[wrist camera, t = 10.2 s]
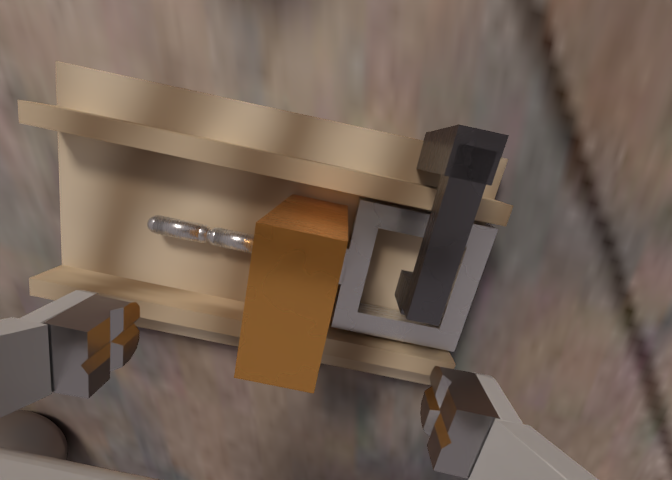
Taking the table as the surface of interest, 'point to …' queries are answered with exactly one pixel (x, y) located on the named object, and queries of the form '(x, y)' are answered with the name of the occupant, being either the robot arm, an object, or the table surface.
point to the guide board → (220, 204)
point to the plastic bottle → (32, 434)
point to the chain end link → (325, 283)
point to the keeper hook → (448, 215)
